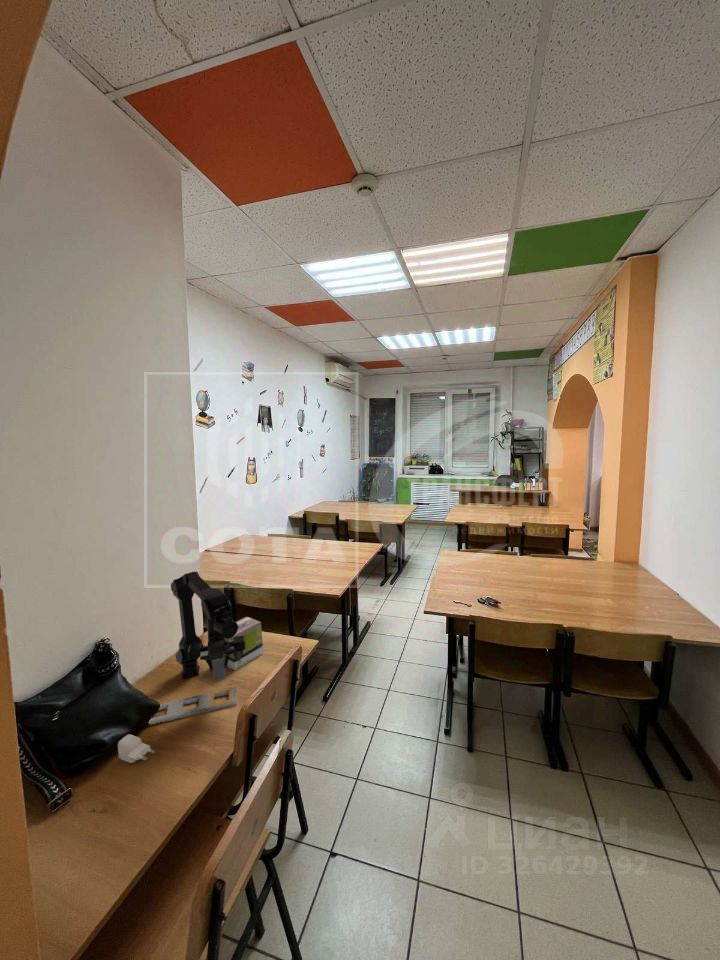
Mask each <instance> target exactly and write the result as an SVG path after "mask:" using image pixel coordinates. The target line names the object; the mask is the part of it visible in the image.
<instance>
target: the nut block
mask: <svg viewBox="0 0 720 960" xmlns="http://www.w3.org/2000/svg"><path fill="white" fill-rule="evenodd" d="M211 673H212V682H215V681H219V680H224V679H226V669H225V658H224V657H223V658H222V659H215V660H212V672H211Z"/></svg>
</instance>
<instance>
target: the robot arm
mask: <svg viewBox="0 0 720 960" xmlns="http://www.w3.org/2000/svg"><path fill="white" fill-rule="evenodd" d="M170 590H171V592H172V595H173V596H174V597H175V598H176V599H177V600H178V606H179V617H180V625H181V634H182V636H181V638H180V641H179V643H178V651H177V652H176V654H175V659H176V660H175V661H176V662H177V663H178V664H179V665H180V666H181V668H182V669H181V675H180V679H181V680H182V679H187V678H191V677H198V676H199V675H200V667H201V665H199V663H198V660H199V659H200V661H202V660H203V661H205V662H206V664H207V666H208V667H209V669H210V671H211V673H213V672H212V660H215V659H222V658H223V657H224V654H225V670H227V667H228V666H227V664H228V660H229V658H230V656H231V654H234V653H235V651H241V650H245V649H246V648H245V637H244V636H243V635H242V636H236V637H233V636H234V635H235V634H236V633H237V631H238V625H237V623H236V622H237V621H235V620H233V617H232V616H229V613H232V612H233V611H232V608H231V607H232V605H231V603H230V600H229V599H228V596H227V594H226V593H225V592H223V591H222V590H220V589H219V588H215V587H214V588H213V587H211V586H210V585H209V584H208V582H206V581H205V580H204V579H203V578H202V577H201V576H200V574H199V572H198V571H195V570H194V571H190V572H186V573H184V574H183V575H182V576H180V577H179V578H174V579H173V581H172V582H171V583H170ZM194 594H195V595H196V596H197V597H198V598H199V599H200V603H201V604H200V605H201V608H202V611H203V613H204V614H205V616H206V618H205V619H206V629H207V645H205V646H204V643H203V640H202V639H201V638H200V637H199V636H198V635H197V632H196V625H195V624H196V623H195V616H194V606H193V605H194V604H193V598H194ZM232 637H233V640H231V641H227V642H226V639H229V638H232Z"/></svg>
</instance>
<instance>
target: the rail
mask: <svg viewBox="0 0 720 960" xmlns="http://www.w3.org/2000/svg"><path fill="white" fill-rule="evenodd" d="M236 688H237V686H234V687H227V688H223V689H218V690H214V691H213V690H212V691H210V692H208V693H202V694H199V695H194V696H190V697H189V696H188V697H185V698H181V699H175V700H171V701H167V702H163V703H159V704H160V711H163V710H162V709H164V710H166V713H165V714H164V715H159V716H155V717H154V716H153V717H151V719H150V720H149V722H148V723H149V724H154V725H157V724H156V723H158V724H161V723H160V722H163V723H166V722H165V721H167V722H169V721H174V720H178V719H182V718H183V719H184V718H187V717H191V716H195V715H200V714H204V713H208V712H212V711H216V710H220V709H224V708H225V709H226V708H229V707H234V706H237V689H236ZM225 696H228V699H226V700H225V699H224V700H221V701H216V702H215V698H219V697H225ZM193 703H198V706H197V707H194V708H189V709H184V707H185V706H186V705H190V704H193Z"/></svg>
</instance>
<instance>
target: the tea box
mask: <svg viewBox="0 0 720 960" xmlns="http://www.w3.org/2000/svg"><path fill="white" fill-rule="evenodd" d="M235 622H236V623H237V625H238V631H237V633H236V634H235V635H234V636H233V637H236V636H242V635H243V636H244V637H245V648H246V649H245V650H241V651H235V653H234V654H231V656H230V658H229V660H228V664H227V667H228V668H230V669H232V670H234V671H236V670H238V669H240V668H241V667H243V666H244V665H247V664H248V663H249V662H251V661H252V660H254V659H256V658H258V657H259V656H261V655H262V654H264V644H263V631H262V629H263V628H262V622H261V621H259V620H256V619H254V618H252V617H249V616H245V617H243V618H241V619H239V620H237V621H235ZM233 637H232V638H229V639H226V642H227V641H231V640H233ZM224 658H225V654H224Z"/></svg>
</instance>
